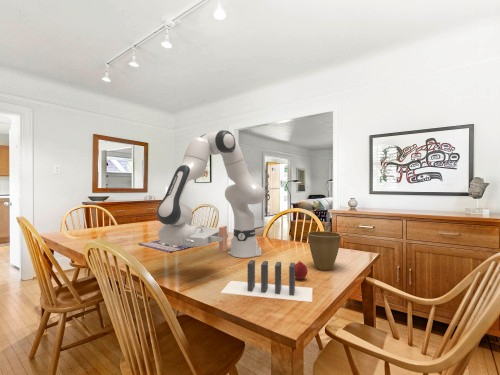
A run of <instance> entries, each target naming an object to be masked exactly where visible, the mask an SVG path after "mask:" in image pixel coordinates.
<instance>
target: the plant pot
mask: <svg viewBox="0 0 500 375" xmlns="http://www.w3.org/2000/svg"><path fill="white" fill-rule="evenodd" d="M341 237H342V234H340V233H338V232H333V231H323V230H321V231H320V230H319V231H318V230H317V231H308V233H307V238H308V245H309V249H310V254H311V257H312V262H313V264H314V267H315V269H317V270H319V271H331V270H332V269H333V268H334V266H335V263H336V260H337V257H338V253H339V248H340V245H341V244H340V243H341V240H342V238H341Z"/></svg>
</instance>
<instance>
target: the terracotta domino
mask: <svg viewBox="0 0 500 375" xmlns="http://www.w3.org/2000/svg"><path fill="white" fill-rule="evenodd" d="M218 228H219V236H220V237H223V241H221V242H218V250H219V252H218V253H224V252H225V251H226V250H228V238H227V234H228V226H227V225H222V226H220V227H218Z"/></svg>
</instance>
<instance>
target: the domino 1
mask: <svg viewBox="0 0 500 375" xmlns="http://www.w3.org/2000/svg"><path fill="white" fill-rule="evenodd" d="M247 282H248V291H250V292H252V291H253V289H254V287H255V283H256V260H255V259H250V260H249V262H248V263H247Z"/></svg>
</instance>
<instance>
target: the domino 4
mask: <svg viewBox="0 0 500 375" xmlns="http://www.w3.org/2000/svg"><path fill="white" fill-rule="evenodd" d="M295 264H296V263H295V262H289V267H288V279H289V280H288V283H289V284H288V286H289V295H292V296H294V292H295V286H296V277H295Z"/></svg>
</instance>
